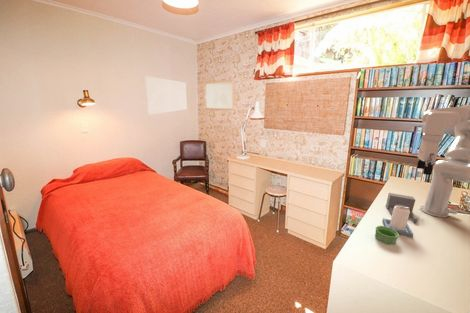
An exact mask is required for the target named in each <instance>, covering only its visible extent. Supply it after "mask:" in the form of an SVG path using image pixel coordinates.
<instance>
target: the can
mask: <svg viewBox="0 0 470 313" xmlns="http://www.w3.org/2000/svg"><path fill="white" fill-rule="evenodd" d="M409 209H410V208H409V207H408V206H405V205H402V204H396V206H395V207H394V209H393V213H392V215H391V218H390V220H391V222H390V227H391V228H392V229H396V230H401V231H405V229H406V225H407V224H408V221H409V218H410V217H409V214H410V210H409Z"/></svg>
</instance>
